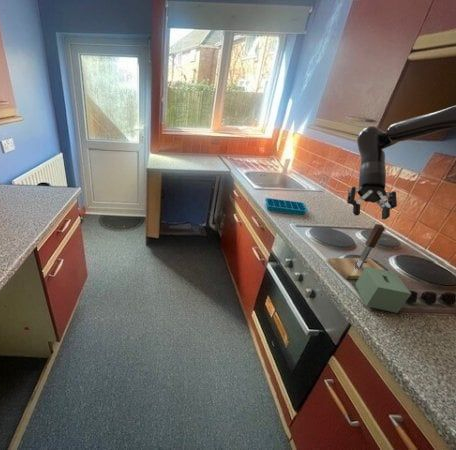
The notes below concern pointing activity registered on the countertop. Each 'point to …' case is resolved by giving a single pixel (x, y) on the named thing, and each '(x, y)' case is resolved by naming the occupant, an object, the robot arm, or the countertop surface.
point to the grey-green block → (382, 289)
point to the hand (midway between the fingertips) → (370, 216)
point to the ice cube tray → (285, 206)
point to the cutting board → (351, 266)
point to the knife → (371, 243)
